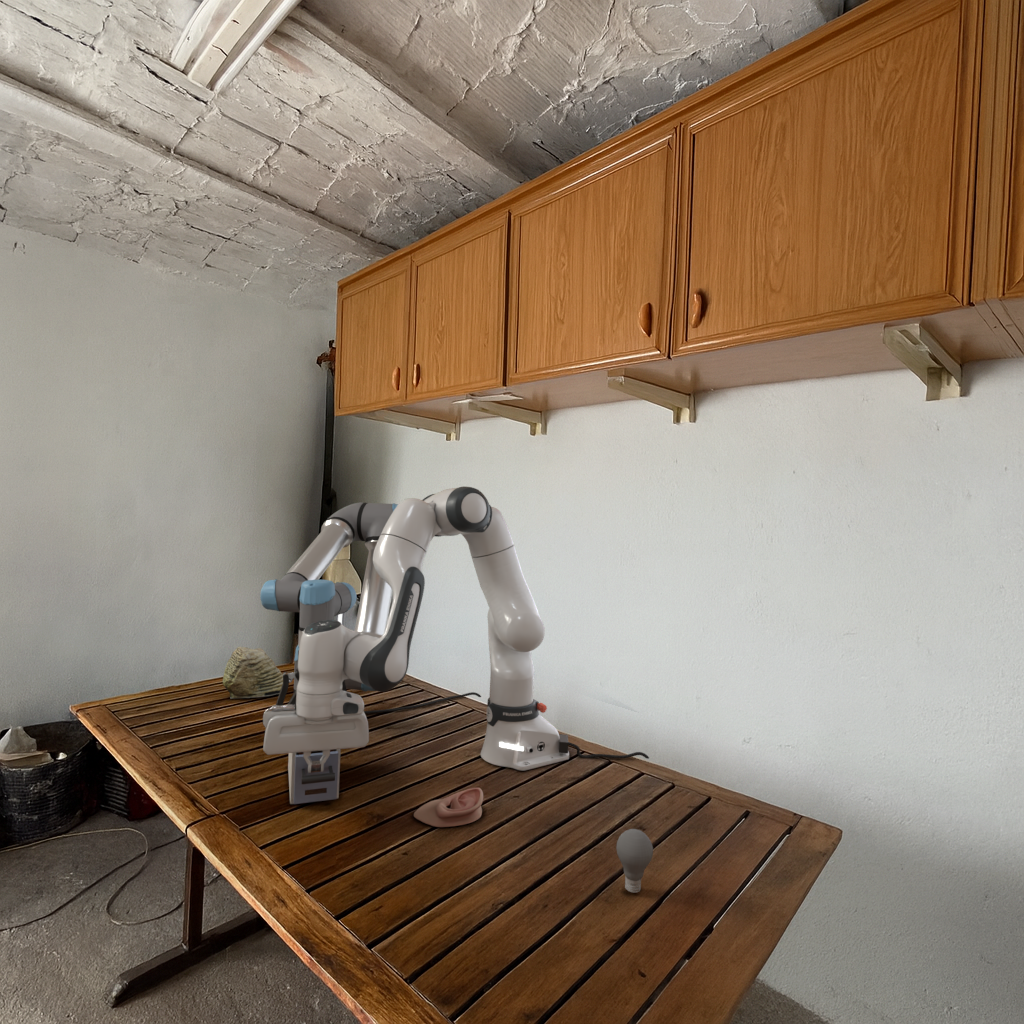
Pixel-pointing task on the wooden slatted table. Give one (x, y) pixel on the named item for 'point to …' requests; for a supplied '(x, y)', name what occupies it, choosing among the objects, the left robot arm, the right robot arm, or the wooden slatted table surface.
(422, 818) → the anatomical model
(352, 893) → the wooden slatted table surface
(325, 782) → the drawer
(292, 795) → the cabinet
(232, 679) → the fossil
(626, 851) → the light bulb
